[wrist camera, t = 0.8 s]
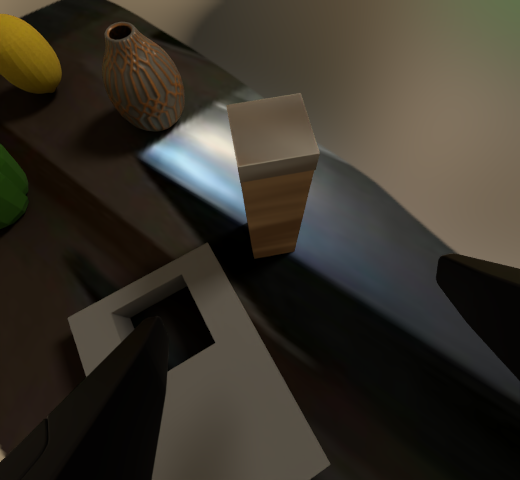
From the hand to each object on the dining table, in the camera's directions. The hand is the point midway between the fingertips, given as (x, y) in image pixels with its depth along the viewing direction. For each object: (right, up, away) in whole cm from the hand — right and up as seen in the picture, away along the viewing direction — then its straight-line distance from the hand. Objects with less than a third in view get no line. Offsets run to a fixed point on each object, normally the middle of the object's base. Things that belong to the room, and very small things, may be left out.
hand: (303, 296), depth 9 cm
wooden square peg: (0, +2, +16) cm, 16 cm away
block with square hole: (-6, -9, +12) cm, 16 cm away
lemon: (-25, +19, +24) cm, 39 cm away
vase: (-12, +15, +22) cm, 29 cm away
